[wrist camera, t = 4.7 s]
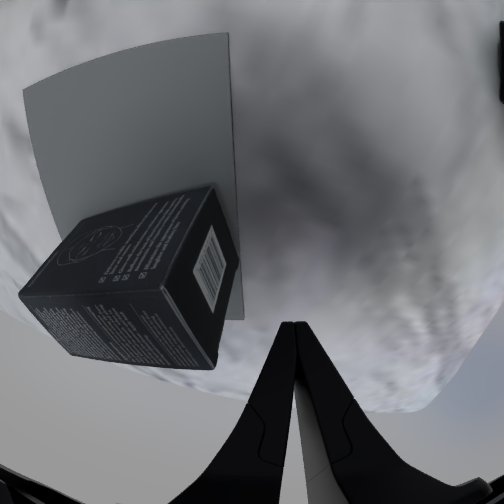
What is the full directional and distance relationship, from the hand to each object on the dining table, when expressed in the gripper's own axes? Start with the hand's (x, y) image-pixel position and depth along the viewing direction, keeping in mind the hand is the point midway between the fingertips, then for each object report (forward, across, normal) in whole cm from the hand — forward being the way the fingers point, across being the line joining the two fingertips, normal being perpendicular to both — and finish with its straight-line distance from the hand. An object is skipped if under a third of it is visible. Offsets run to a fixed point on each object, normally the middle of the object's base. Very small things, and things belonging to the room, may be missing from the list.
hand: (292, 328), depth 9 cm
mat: (+9, +10, 0) cm, 13 cm away
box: (+4, +3, +1) cm, 5 cm away
